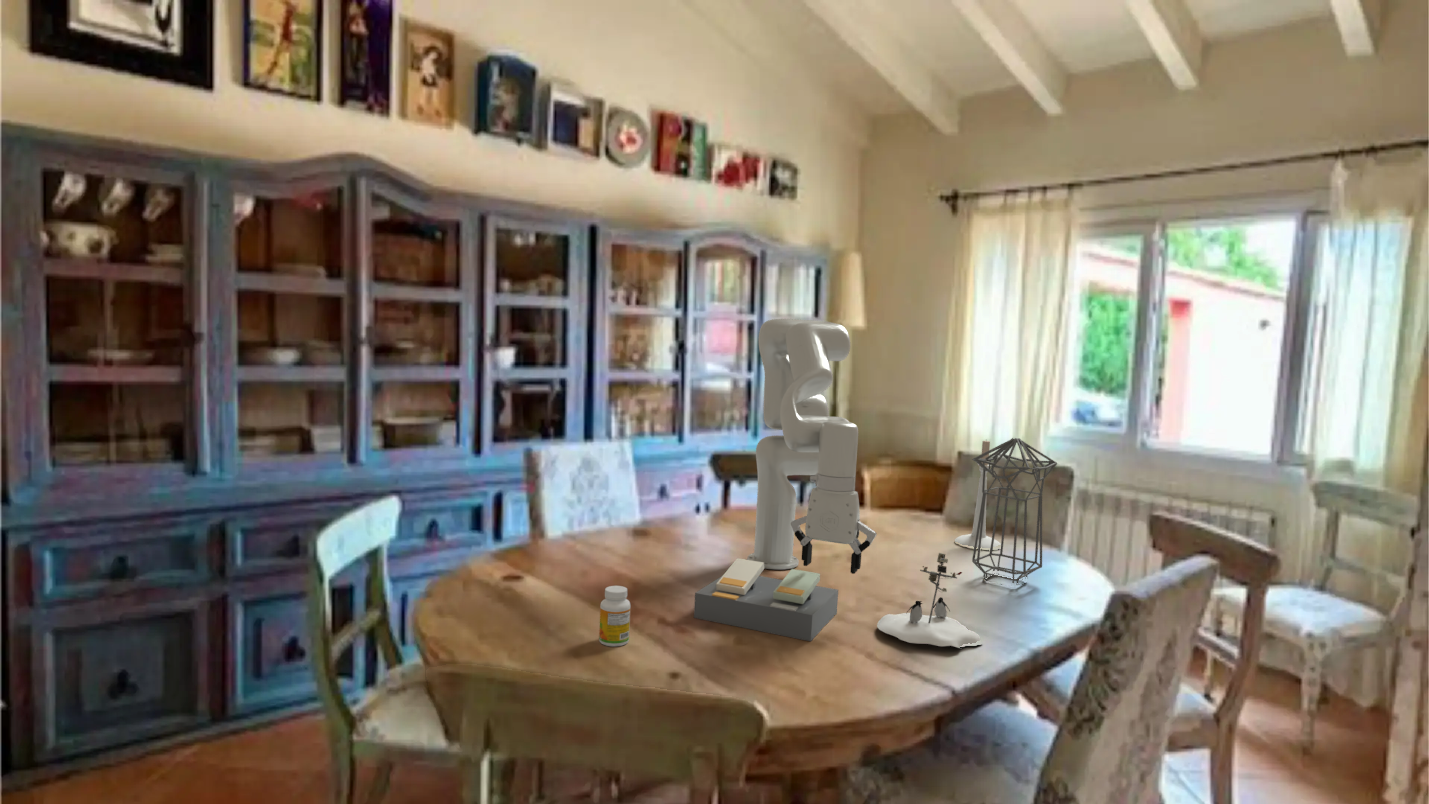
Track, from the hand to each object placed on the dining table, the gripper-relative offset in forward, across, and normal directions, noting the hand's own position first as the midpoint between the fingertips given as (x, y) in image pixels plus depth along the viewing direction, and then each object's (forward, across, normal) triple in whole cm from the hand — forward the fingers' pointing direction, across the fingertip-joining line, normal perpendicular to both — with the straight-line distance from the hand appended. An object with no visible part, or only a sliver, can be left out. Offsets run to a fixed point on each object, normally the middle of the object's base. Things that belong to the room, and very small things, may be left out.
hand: (830, 568), depth 169 cm
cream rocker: (+4, -17, -4) cm, 18 cm away
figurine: (+11, +20, +2) cm, 23 cm away
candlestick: (+10, +20, +84) cm, 87 cm away
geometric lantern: (+11, +30, +49) cm, 58 cm away
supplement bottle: (+11, -30, -32) cm, 46 cm away
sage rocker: (+4, -5, -4) cm, 8 cm away
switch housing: (+10, -11, -4) cm, 16 cm away
